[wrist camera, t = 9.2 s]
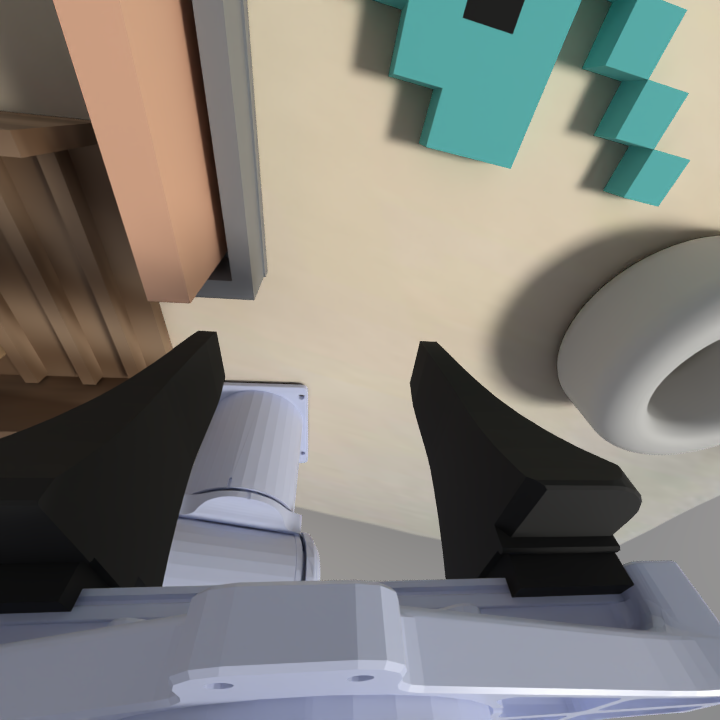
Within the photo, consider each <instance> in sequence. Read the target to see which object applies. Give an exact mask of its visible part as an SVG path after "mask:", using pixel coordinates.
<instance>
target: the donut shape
mask: <svg viewBox="0 0 720 720" xmlns="http://www.w3.org/2000/svg"><path fill="white" fill-rule="evenodd" d="M557 372H558V378H559V381H560V384H561V386H562V389H563V390H564V392H565V393H566V395H567V396H568V397H569V399H570V400H571V401H572V403H573V404H574V405H575V406H576V408H577V409H578V410H579V411H580V413H581V414H582V415H583V416H584V418H585V419H586V420H587V421H588V423H589V424H590V425H591V426H592V428H593V429H594V430H595V431H596V432H597V433H598V434H599V435H600V436H601V437H602V438H603V439H605V440H606V441H608V442H609V443H611V444H613V445H615V446H617V447H619V448H622V449H624V450H627V451H631V452H635V453H640V454H649V455H673V454H682V453H689V452H694V451H699V450H703V449H707V448H711V447H715V446H718V445H720V236H710V237H704V238H699V239H694V240H690V241H686V242H683V243H680V244H677V245H674V246H671V247H669V248H666V249H664V250H661V251H659V252H657V253H654V254H652V255H650V256H648V257H646V258H644V259H643V260H641V261H639V262H637V263H636V264H634V265H632V266H631V267H629V268H627V269H626V270H624V271H623V272H621V273H620V274H619V275H617V276H616V277H615V278H613V279H612V280H611V281H609V282H608V283H607V284H606V285H605V286H603V287H602V288H601V289H600V290H599V291H598V292H597V293H596V294H595V295H594V296H593V297H592V298H591V299H590V300H589V301H588V302H587V303H586V304H585V305H584V307H583V308H582V309H581V310H580V312H579V313H578V314H577V316H576V317H575V318H574V320H573V321H572V323H571V325H570V326H569V328H568V330H567V332H566V334H565V336H564V338H563V340H562V343H561V346H560V350H559V354H558V360H557Z"/></svg>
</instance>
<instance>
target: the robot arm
mask: <svg viewBox="0 0 720 720" xmlns="http://www.w3.org/2000/svg"><path fill="white" fill-rule="evenodd" d="M224 381H225V373H224V368H223V362H222V357H221V352H220V347H219V342H218V337H217V332H211V331H197V332H196V333H194V334H193V335H191V336H190V337H188V338H187V339H186V340H184V341H183V342H182V343H180V344H179V345H178V346H176V347H175V348H173V349H172V350H171V351H169V352H168V353H167V354H165V355H164V356H162V357H161V358H160V359H158V360H157V361H155V362H154V363H152V364H151V365H149V366H148V367H146V368H145V369H143V370H142V371H140V372H139V373H137V374H136V375H134V376H132V377H131V378H129V379H128V380H126V381H125V382H123V383H121V384H120V385H118V386H116V387H114V388H113V389H111V390H109V391H107V392H105V393H103V394H101V395H100V396H98V397H96V398H94V399H92V400H90V401H88V402H86V403H84V404H82V405H79V406H77V407H75V408H73V409H71V410H69V411H67V412H64V413H62V414H60V415H58V416H56V417H54V418H51V419H49V420H46V421H44V422H42V423H39V424H37V425H34V426H32V427H29V428H27V429H24V430H21V431H19V432H16V433H14V434H11V435H8V436H5V437H3V438H0V720H601V719H611V718H621V717H632V716H643V715H655V714H668V713H680V712H689V711H693V710H697V709H701V708H706V707H710V706H714V705H718V704H720V622H719V621H718V619H717V618H716V617H715V615H714V614H713V612H712V611H711V610H710V608H709V607H708V606H707V604H706V603H705V602H704V600H703V599H702V597H701V596H700V595H699V593H698V592H697V590H696V589H695V588H694V587H693V585H692V584H691V582H690V581H689V579H688V578H687V577H686V575H685V574H684V573H683V571H682V570H681V568H680V567H679V566H678V564H677V563H676V562H674V561H672V560H666V561H665V560H663V561H662V560H661V561H635V562H629V563H626V564H623V565H622V564H621V562H620V560H619V559H618V557H617V555H616V554H615V552H618V551H619V550H620V546H619V544H618V543H617V541H616V539H615V538H614V536H613V534H614V533H615V532H616V531H617V530H619V529H620V528H621V527H622V526H623V525H624V524H626V523H627V522H628V521H629V520H630V519H631V518H632V517H633V516H634V515H635V514H636V513H637V512H638V510H639V508H640V505H641V502H642V499H641V495H640V493H639V492H638V491H637V489H636V488H635V487H634V486H633V484H632V483H631V482H630V480H629V479H628V478H627V476H626V475H625V474H624V472H623V471H622V470H621V468H620V467H619V466H618V465H616V464H614V463H612V462H609V461H607V460H605V459H603V458H600V457H598V456H596V455H594V454H591V453H589V452H587V451H585V450H583V449H580V448H578V447H576V446H574V445H572V444H571V443H569V442H567V441H565V440H563V439H561V438H559V437H557V436H555V435H553V434H552V433H550V432H548V431H546V430H545V429H543V428H541V427H540V426H538V425H536V424H535V423H533V422H531V421H530V420H528V419H527V418H525V417H523V416H522V415H520V414H519V413H517V412H516V411H515V410H513V409H512V408H510V407H509V406H508V405H506V404H505V403H503V402H502V401H501V400H499V399H498V398H497V397H495V396H494V395H493V394H492V393H491V392H489V391H488V390H487V389H486V388H485V387H483V386H482V385H481V384H480V383H479V382H478V381H477V380H475V379H474V378H473V377H472V376H471V375H470V374H469V373H468V372H467V371H466V370H465V369H464V368H463V367H462V366H461V365H459V364H458V363H457V362H456V361H455V360H454V359H453V358H452V357H451V356H450V355H449V354H448V353H447V352H446V351H445V350H444V349H443V348H442V347H441V346H440V345H439V344H438V343H437V342H427V341H420V344H419V348H418V352H417V356H416V360H415V365H414V369H413V373H412V377H411V381H410V387H411V395H412V402H413V407H414V411H415V415H416V418H417V422H418V425H419V429H420V432H421V436H422V439H423V443H424V446H425V450H426V453H427V457H428V461H429V465H430V469H431V475H432V481H433V486H434V492H435V499H436V505H437V512H438V518H439V526H440V533H441V541H442V549H443V558H444V567H445V577H446V579H444V580H443V579H441V580H402V581H365V580H324V581H323V580H320V559H319V553H318V550H317V548H316V545H315V544H314V541H313V539H312V537H311V535H310V534H308V533H304V532H301V521H302V515H301V514H297V513H294V508H295V498H296V488H297V478H298V468H299V463H305V462H307V461H308V388H307V387H306V386H305V385H296V384H262V383H228V382H224ZM300 395H304V396H300ZM200 446H201V447H200ZM198 451H199V452H198ZM197 453H198V454H197ZM196 456H197V457H196ZM194 461H195V462H194Z"/></svg>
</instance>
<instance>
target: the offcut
mask: <svg viewBox="0 0 720 720" xmlns="http://www.w3.org/2000/svg"><path fill="white" fill-rule="evenodd" d="M5 355H6V353H5V351H4V350H3V348H2V347H1V345H0V359H1V358H2V357H3V356H5Z"/></svg>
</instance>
